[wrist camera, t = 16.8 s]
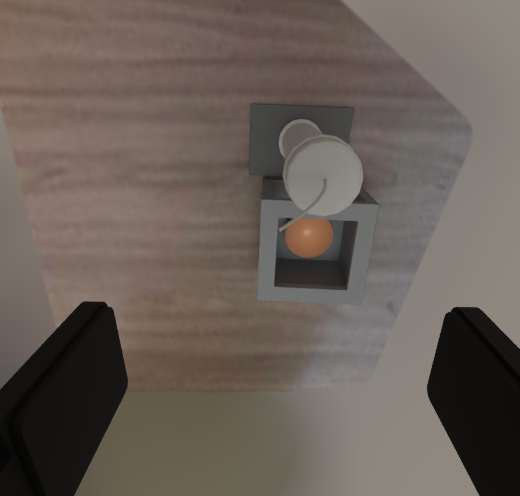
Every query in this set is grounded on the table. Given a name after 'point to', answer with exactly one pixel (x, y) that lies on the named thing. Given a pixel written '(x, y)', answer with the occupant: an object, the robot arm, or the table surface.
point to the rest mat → (272, 123)
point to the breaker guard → (322, 266)
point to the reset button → (309, 237)
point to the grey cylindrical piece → (318, 170)
